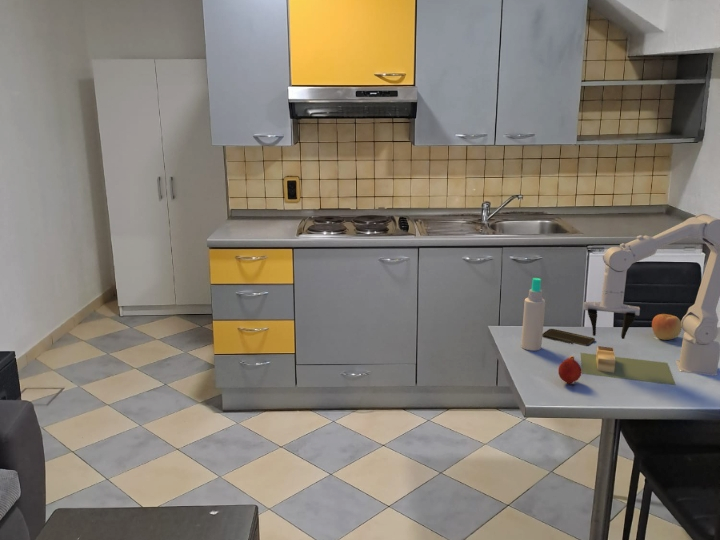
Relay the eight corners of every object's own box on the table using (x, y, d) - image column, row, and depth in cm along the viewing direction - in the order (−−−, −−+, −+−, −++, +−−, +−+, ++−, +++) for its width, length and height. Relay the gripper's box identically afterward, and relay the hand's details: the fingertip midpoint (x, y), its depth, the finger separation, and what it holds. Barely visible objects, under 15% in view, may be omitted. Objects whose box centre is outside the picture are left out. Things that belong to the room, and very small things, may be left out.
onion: (565, 389, 170) (568, 361, 168) (553, 380, 175) (555, 353, 173) (584, 387, 172) (587, 359, 170) (571, 378, 177) (574, 351, 175)
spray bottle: (545, 349, 197) (551, 280, 192) (529, 352, 195) (535, 282, 189) (532, 342, 203) (538, 275, 197) (516, 345, 200) (522, 277, 195)
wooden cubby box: (613, 372, 180) (615, 360, 179) (597, 370, 181) (598, 358, 180) (611, 359, 189) (613, 347, 188) (596, 357, 191) (597, 345, 190)
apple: (650, 340, 206) (653, 317, 204) (649, 332, 214) (652, 309, 212) (680, 345, 203) (684, 320, 201) (678, 335, 210) (682, 312, 208)
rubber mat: (667, 364, 187) (667, 362, 187) (675, 386, 173) (675, 385, 173) (580, 353, 194) (580, 352, 194) (581, 374, 180) (581, 373, 179)
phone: (550, 328, 214) (596, 338, 205) (550, 331, 214) (595, 341, 206) (541, 334, 208) (587, 345, 199) (540, 337, 208) (587, 348, 200)
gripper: (640, 288, 181) (634, 334, 185) (585, 284, 185) (581, 328, 189) (642, 295, 175) (636, 342, 178) (586, 290, 179) (581, 336, 182)
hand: (608, 336), depth 183 cm, fingers open, 7 cm apart
